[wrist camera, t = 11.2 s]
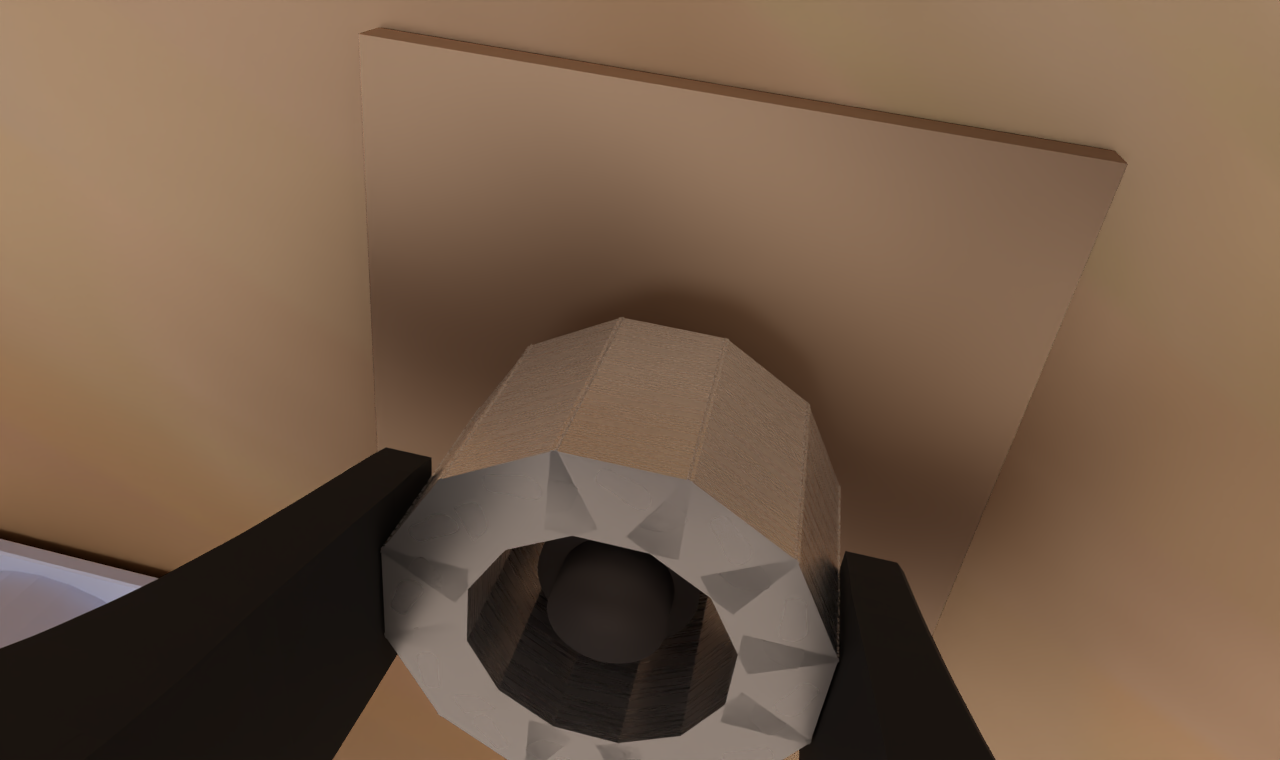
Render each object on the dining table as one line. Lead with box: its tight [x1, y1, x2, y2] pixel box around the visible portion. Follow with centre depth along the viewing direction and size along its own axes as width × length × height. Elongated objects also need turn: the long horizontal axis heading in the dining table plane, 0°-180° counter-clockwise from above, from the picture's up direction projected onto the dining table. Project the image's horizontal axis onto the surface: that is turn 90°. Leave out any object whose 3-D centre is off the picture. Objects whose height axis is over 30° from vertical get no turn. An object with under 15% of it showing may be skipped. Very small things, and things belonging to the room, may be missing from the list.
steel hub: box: [380, 317, 841, 760], centre depth 11 cm, size 5×5×3 cm
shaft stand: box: [358, 28, 1128, 663], centre depth 12 cm, size 10×10×5 cm
